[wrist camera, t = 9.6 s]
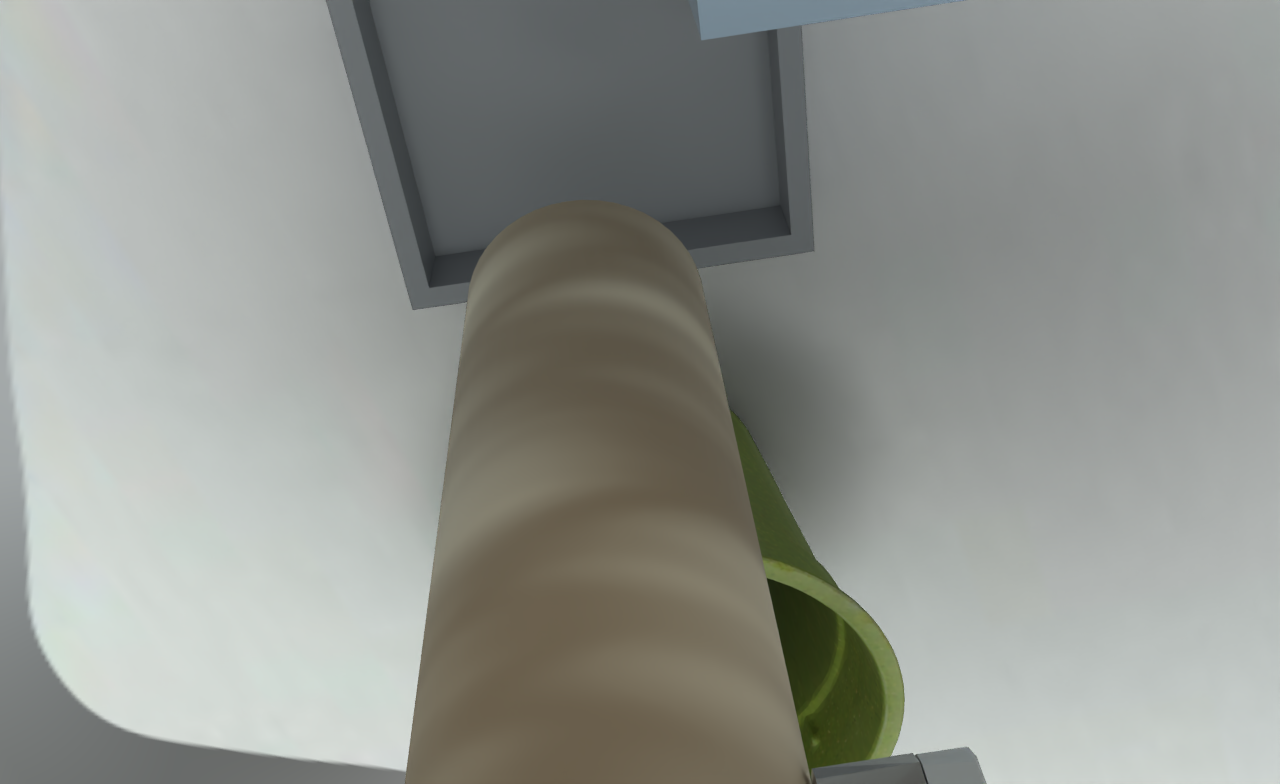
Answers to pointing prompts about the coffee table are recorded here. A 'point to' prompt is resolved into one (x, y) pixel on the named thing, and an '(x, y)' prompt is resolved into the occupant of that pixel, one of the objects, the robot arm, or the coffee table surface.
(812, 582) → the plant pot
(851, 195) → the coffee table surface
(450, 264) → the tray
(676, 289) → the dowel
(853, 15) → the blue storage bin
